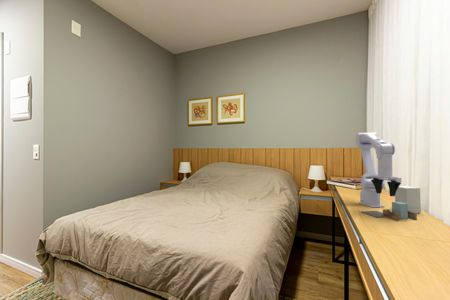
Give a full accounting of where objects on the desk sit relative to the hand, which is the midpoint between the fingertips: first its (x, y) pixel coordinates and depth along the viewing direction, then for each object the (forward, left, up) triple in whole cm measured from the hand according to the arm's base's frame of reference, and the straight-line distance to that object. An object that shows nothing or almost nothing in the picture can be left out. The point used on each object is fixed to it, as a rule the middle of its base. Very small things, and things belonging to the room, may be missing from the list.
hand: (385, 194), depth 103 cm
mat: (+1, -6, -9) cm, 11 cm away
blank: (+7, 0, -9) cm, 12 cm away
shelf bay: (+7, 0, -9) cm, 12 cm away
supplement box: (-1, +15, -10) cm, 18 cm away
